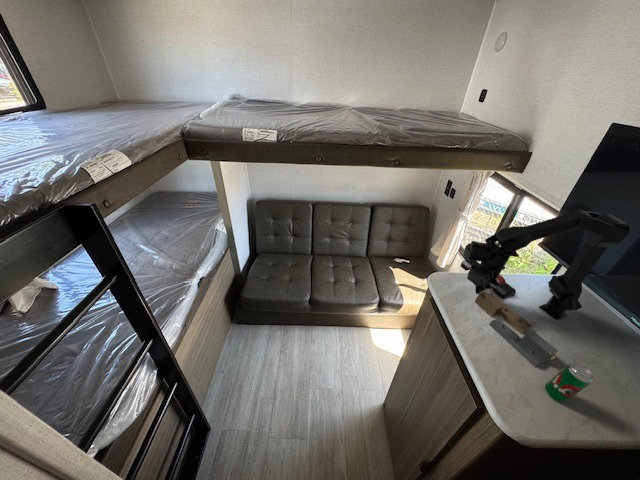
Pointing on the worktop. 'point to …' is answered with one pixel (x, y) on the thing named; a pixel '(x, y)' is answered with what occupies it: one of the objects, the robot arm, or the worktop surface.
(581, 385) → the soda can
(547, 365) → the worktop surface
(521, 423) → the worktop surface
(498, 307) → the wooden block
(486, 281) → the robot arm
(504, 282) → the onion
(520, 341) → the leaf fixed
